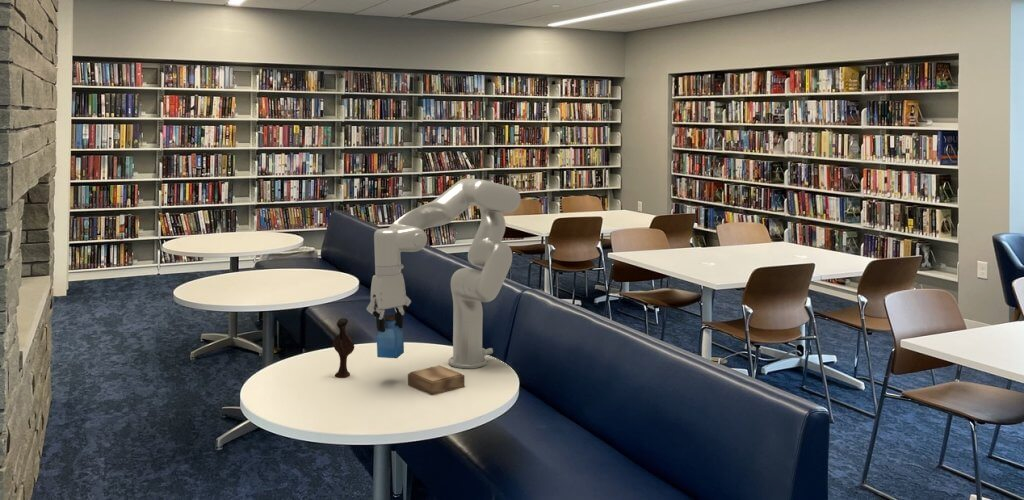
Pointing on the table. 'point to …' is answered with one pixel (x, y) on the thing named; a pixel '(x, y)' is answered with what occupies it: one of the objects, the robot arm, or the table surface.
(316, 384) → the table surface
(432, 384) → the pedestal
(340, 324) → the figurine
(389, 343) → the perfume bottle
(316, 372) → the table surface
